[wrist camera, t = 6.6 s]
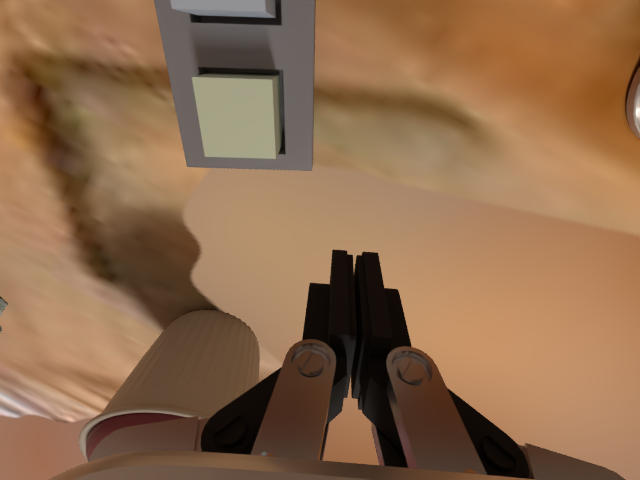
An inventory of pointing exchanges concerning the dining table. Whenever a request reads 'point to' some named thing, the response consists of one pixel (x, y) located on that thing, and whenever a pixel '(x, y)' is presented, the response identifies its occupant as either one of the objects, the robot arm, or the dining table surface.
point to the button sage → (239, 114)
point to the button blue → (227, 7)
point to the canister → (182, 375)
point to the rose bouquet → (2, 307)
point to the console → (249, 58)
